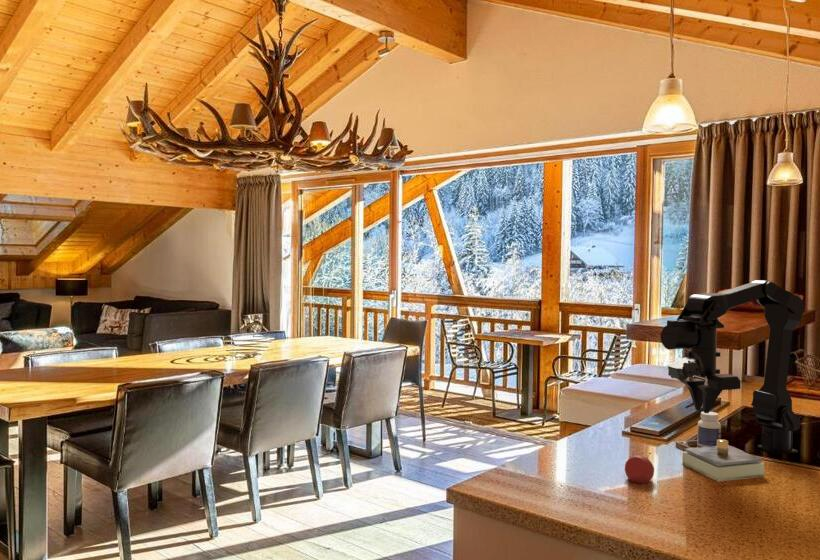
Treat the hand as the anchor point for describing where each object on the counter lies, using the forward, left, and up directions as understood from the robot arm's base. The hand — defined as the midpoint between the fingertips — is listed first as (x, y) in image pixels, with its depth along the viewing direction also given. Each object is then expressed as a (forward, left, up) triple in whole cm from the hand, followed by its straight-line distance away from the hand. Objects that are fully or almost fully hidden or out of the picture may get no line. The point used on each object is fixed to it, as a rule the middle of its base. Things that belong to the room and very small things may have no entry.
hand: (702, 411), depth 156 cm
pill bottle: (-7, -6, -12) cm, 15 cm away
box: (0, +7, -12) cm, 14 cm away
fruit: (+21, +7, -12) cm, 25 cm away
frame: (-7, -6, -12) cm, 15 cm away
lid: (0, +7, -9) cm, 11 cm away
